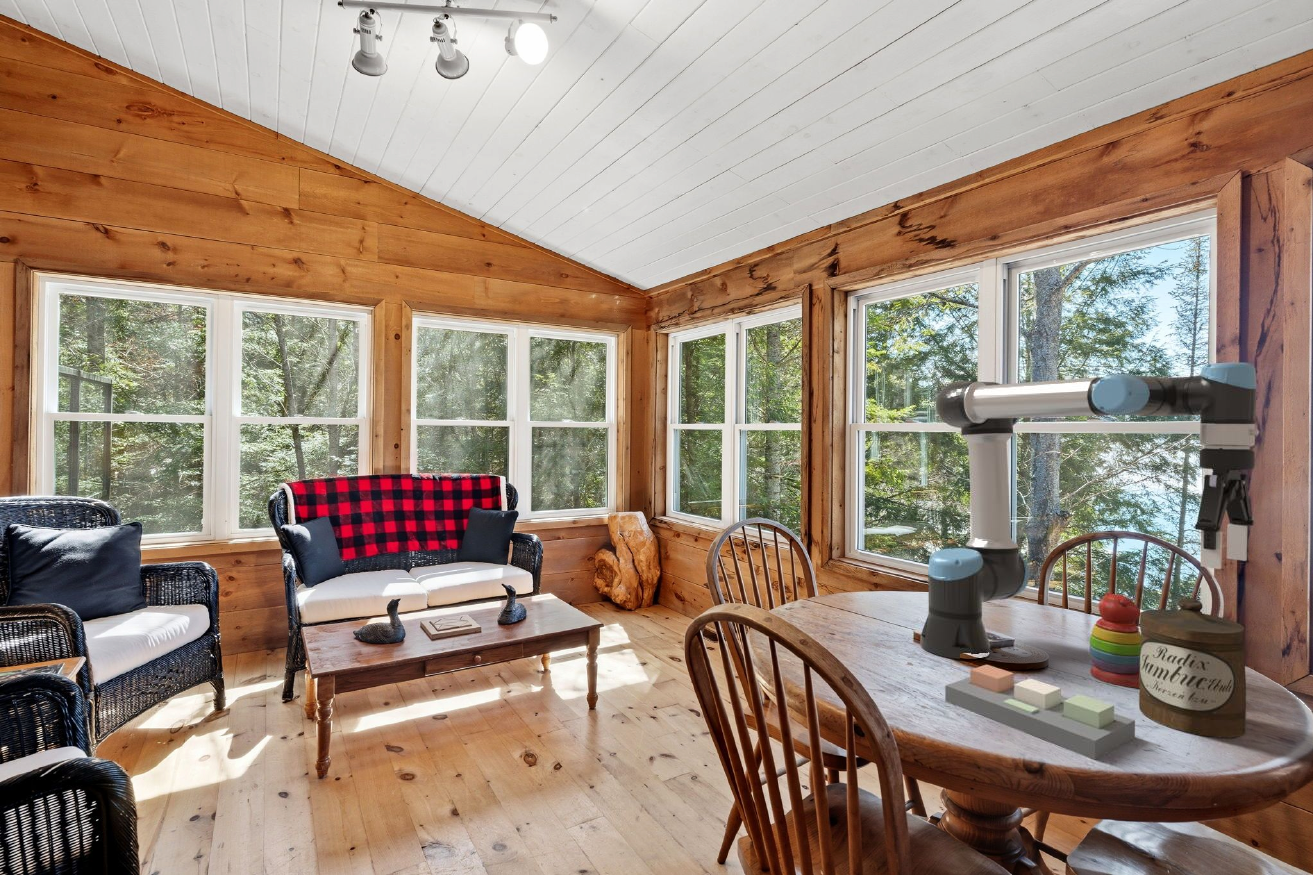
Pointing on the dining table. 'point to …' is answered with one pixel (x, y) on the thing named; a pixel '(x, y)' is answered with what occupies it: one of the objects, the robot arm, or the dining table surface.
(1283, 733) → the dining table surface
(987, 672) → the terracotta key
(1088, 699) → the sage green key
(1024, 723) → the console
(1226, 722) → the wooden container
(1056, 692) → the off-white key
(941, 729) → the dining table surface
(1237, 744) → the dining table surface
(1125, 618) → the stacking bear
